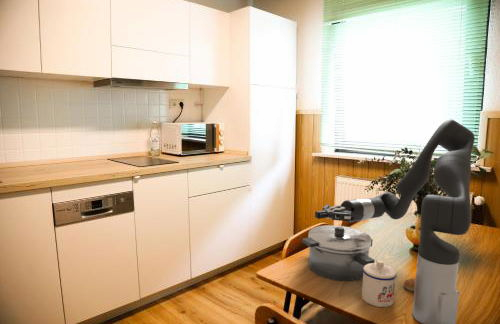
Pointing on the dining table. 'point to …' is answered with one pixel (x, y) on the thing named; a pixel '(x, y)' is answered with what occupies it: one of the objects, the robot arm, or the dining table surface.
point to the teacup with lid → (378, 284)
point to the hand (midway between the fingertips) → (316, 215)
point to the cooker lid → (338, 238)
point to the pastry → (410, 284)
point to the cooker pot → (338, 263)
